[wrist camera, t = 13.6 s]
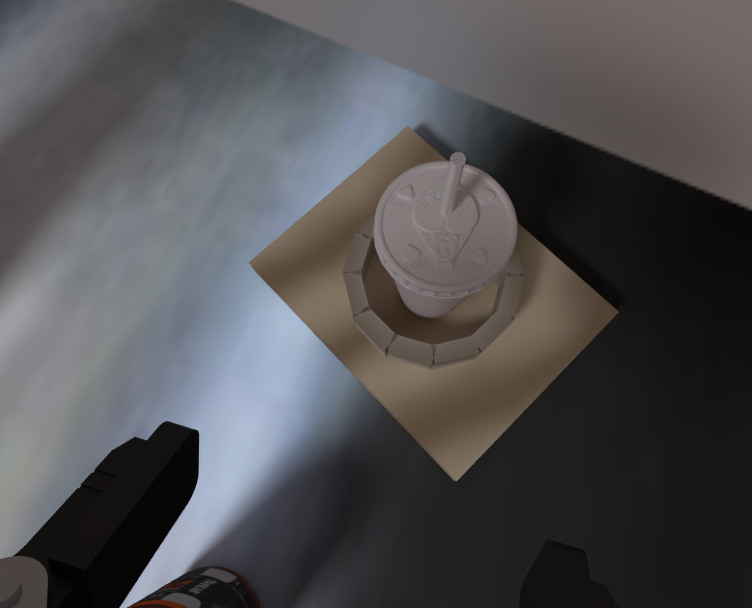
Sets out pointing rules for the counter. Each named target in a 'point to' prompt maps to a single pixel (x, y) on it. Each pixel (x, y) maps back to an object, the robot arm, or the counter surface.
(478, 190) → the smoothie
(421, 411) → the socket board
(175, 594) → the supplement bottle
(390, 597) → the counter surface
